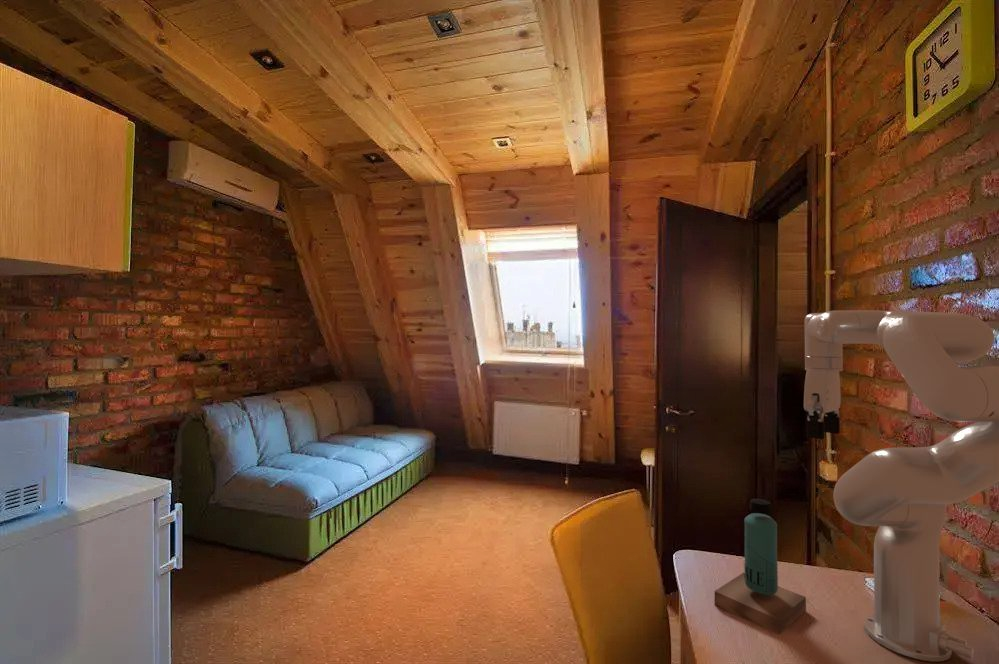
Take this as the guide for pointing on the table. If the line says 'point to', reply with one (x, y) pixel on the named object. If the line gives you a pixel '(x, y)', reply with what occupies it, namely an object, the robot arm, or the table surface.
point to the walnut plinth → (761, 605)
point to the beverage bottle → (761, 549)
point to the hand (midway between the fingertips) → (824, 435)
